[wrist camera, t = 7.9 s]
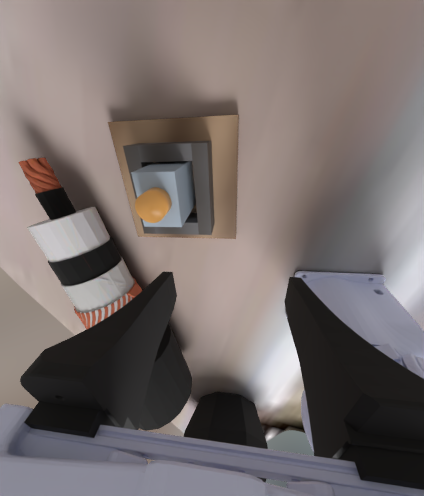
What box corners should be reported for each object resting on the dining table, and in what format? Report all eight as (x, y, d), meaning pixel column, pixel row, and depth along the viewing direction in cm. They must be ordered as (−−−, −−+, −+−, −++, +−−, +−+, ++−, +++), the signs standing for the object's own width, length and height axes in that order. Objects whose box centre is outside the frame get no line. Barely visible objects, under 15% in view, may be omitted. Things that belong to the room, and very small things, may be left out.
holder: (238, 115, 16) (237, 113, 13) (235, 234, 22) (235, 251, 19) (114, 122, 18) (88, 121, 15) (141, 232, 24) (127, 247, 21)
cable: (100, 153, 24) (72, 137, 15) (185, 351, 37) (198, 407, 28) (5, 176, 22) (-95, 174, 13) (130, 376, 35) (125, 446, 26)
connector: (192, 159, 18) (167, 176, 12) (195, 203, 20) (176, 236, 14) (159, 160, 18) (119, 177, 12) (166, 203, 20) (135, 235, 14)
